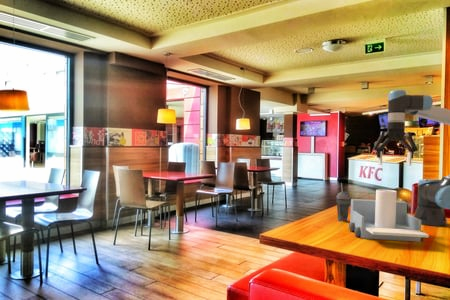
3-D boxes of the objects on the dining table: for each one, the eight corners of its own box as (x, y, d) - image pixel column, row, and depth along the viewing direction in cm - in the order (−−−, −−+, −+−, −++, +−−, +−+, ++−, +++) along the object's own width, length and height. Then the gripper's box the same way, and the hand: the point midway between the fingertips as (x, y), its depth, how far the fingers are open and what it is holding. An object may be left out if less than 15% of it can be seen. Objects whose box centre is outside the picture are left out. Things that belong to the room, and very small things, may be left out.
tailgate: (418, 230, 137) (428, 234, 128) (418, 232, 137) (428, 237, 128) (365, 227, 139) (372, 231, 130) (365, 229, 139) (372, 234, 130)
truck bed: (406, 230, 155) (407, 201, 155) (424, 241, 137) (425, 208, 137) (346, 227, 158) (347, 198, 158) (357, 237, 140) (358, 205, 140)
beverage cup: (351, 222, 169) (352, 184, 168) (336, 221, 170) (337, 183, 170) (348, 219, 176) (349, 182, 176) (334, 218, 177) (335, 181, 177)
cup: (398, 229, 141) (399, 192, 141) (378, 228, 142) (380, 191, 142) (390, 224, 150) (392, 189, 149) (372, 223, 150) (373, 188, 150)
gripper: (419, 123, 164) (417, 165, 164) (367, 122, 167) (365, 163, 167) (426, 122, 157) (425, 166, 157) (372, 120, 160) (370, 164, 160)
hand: (394, 165), depth 162 cm, fingers open, 13 cm apart
